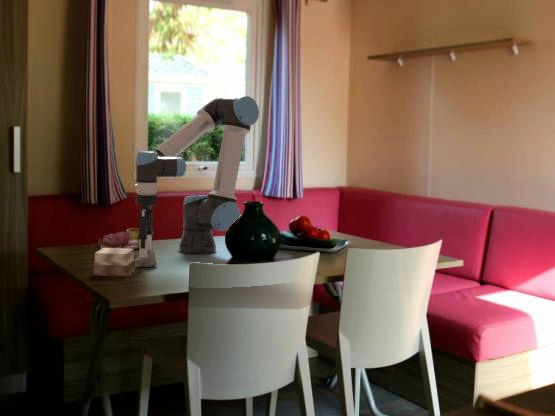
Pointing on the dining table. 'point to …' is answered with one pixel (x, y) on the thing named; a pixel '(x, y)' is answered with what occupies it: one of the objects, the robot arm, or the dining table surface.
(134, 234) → the flower pot
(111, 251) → the tower top
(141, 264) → the stone
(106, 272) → the tower base
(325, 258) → the dining table surface
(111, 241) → the flower
